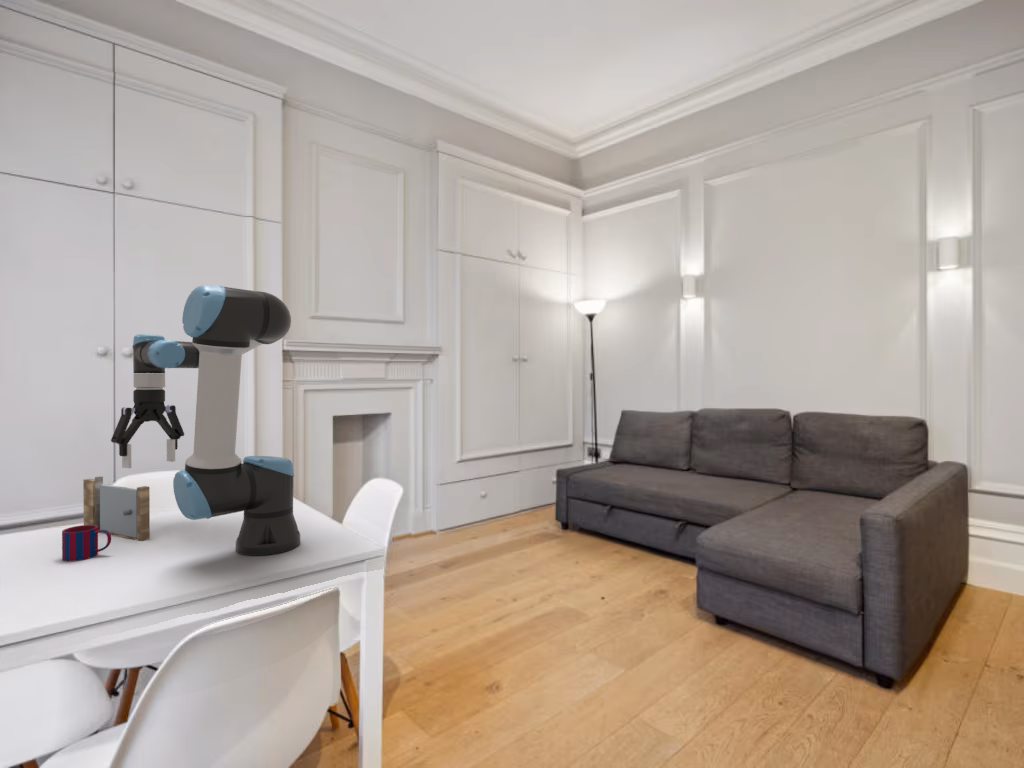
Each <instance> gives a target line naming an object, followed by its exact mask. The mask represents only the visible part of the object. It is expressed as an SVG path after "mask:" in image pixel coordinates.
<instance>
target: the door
mask: <svg viewBox="0 0 1024 768" xmlns="http://www.w3.org/2000/svg"><path fill="white" fill-rule="evenodd" d="M100 530H107V531H109V532H110V533H115V534H120V535H124V536H129V537H134V538H137V488H132V487H123V486H120V485H119V486H118V485H112V484H104V483H103V485H100Z"/></svg>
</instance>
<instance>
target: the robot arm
mask: <svg viewBox="0 0 1024 768" xmlns="http://www.w3.org/2000/svg"><path fill="white" fill-rule="evenodd" d="M183 306H184V307H183V311H182V318H181V319H182V325H183V326H182V327H183V331H184V333H185V334H186V335H187V336H189V337H190V338H192V341H182V340H180V341H179V340H178V341H177V340H176V341H175V340H171V339H165V336H163V335H160V334H150V333H149V334H148V333H146V334H143V333H142V334H136V335H134V336H133V339H132V340H133V341H132V350H133V351H132V355H133V357H132V359H133V364H132V365H133V388H135V389H134V390H133V394H132V395H133V398H132V399H133V400H132V401H133V403H134V404H133V407H121V409H120V410H121V411H120V418H119V419H118V423H117V425H116V428H114V429H115V430H114V431H113V434H112V436H111V438H110V442H111V443H113V444H117V445H118V446H119V447H118V448H119V449H118V455H119V457H121V460H122V461H121V465H122V466H121V468H124V469H132V444H131V443H129V442H130V441H131V439H132V438H133V437H134V435H135V434H136V432H137V431H138V429H139V428H140V427H141V426H142V424H144V423H145V422H157V423H158V425H159V426H160V427H161V429H162V430H163V431H164V433H165V434H166V435H167V436H168V439H166V462H170V463H171V462H176V450H178V447H179V445H178V440H180V439H181V437H184V436H185V431H184V430H183V426H182V425H181V422H180V420H179V418H178V415H177V411H176V410H177V408H176V406H175V405H172V404H171V405H169V404H168V405H165V402H166V390H165V389H164V388H165V387H166V369H198V370H197V371H198V373H197V385H196V386H197V389H196V404H195V405H196V406H195V407H196V408H195V422H194V439H193V440H194V441H193V453H192V454H191V455H190V456H189V457H188V458H186V459H185V462H184V463H185V464H184V469H180V470H178V471H177V472H176V473H175V474H174V477H173V483H172V484H173V485H172V486H173V494H174V498H175V501H176V502H175V503H176V504H177V507H178V509H179V511H180V512H181V514H182V515H183V516H184V517H185V518H186V519H189V520H192V521H194V520H195V521H196V520H203V519H207V520H209V519H211V518H214V517H215V518H216V517H220V516H225V515H230V514H234V513H240V512H243V519H242V522H241V526H240V529H239V533H238V536H237V538H236V540H235V552H237V553H238V554H240V555H244V556H245V555H246V556H267V555H274V554H280V553H284V552H287V551H290V550H293V549H296V548H297V547H298V546H300V544H301V532H300V531H299V528H298V525H297V521H296V518H295V516H294V477H295V474H294V464H293V462H292V460H290V459H289V458H286V457H282V456H281V457H280V456H271V455H270V456H269V455H246V456H244V458H243V460H242V458H241V457H239V456H238V455H237V454H236V443H237V429H238V428H237V427H238V413H239V399H240V386H241V385H240V384H241V372H242V371H241V370H242V369H241V368H242V358H243V355H244V354H246V353H248V352H250V351H252V350H253V349H255V348H258V347H259V346H262V345H271V344H274V343H276V342H278V341H280V340H281V339H283V338H284V337H285V336H286V335H287V333H289V330H290V328H291V325H292V324H291V323H292V317H291V313H290V310H289V308H288V306H287V305H286V304H285V303H284V302H283V301H282V300H281V298H279V297H277V296H276V295H274V294H272V293H269V292H265V291H260V290H259V291H257V290H250V289H249V290H248V289H242V288H237V287H236V288H235V287H228V286H222V285H211V284H209V285H208V284H204V285H203V284H202V285H198V286H197V287H195V288H193V290H192V291H190V294H189V295H188V297H187V298H186V301H185V304H184V305H183ZM164 413H165V414H166V416H165V415H164ZM132 415H135V416H134V417H133V418H132ZM167 418H168V420H167ZM131 419H132V420H131ZM130 421H131V423H130ZM168 421H169V422H168ZM129 423H130V424H129Z"/></svg>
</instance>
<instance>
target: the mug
mask: <svg viewBox="0 0 1024 768" xmlns="http://www.w3.org/2000/svg"><path fill="white" fill-rule="evenodd" d="M100 532H104V533H106V534H105V535H106V537H107V542H106V545H105V546H103V547H102V548H99V534H101V533H100ZM104 533H103V534H104ZM61 543H62V544H61V553H62V554H61V558H62V561H64V562H79V561H84V560H88V559H91V558H95V557H97V556H98V555H99V552H102V551H104V550H106V549H107V548H108V547H109V546H110V545H111V543H112V535H111V534H110V532H109V531H107V530H99V531H98V526H97V525H84V524H83V525H76V526H70V527H68V528H65V529H62V531H61Z"/></svg>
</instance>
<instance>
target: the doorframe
mask: <svg viewBox="0 0 1024 768" xmlns="http://www.w3.org/2000/svg"><path fill="white" fill-rule="evenodd" d="M82 481H83V485H82V486H83V487H82V489H83V491H82V492H83V495H82V496H83V525H97V526H98V531H99V530H100V485H104V476H95V477H94V478H89V477H88V478H84V479H82ZM136 489H137V538H134V537H129V536H124V535H120V534H115V533H110V534H111V536H115V537H120V538H124V539H129V540H133V541H134V540H137V541H141V542H143V541H146V540H150V539H151V538H150V534H151V533H150V531H151V529H150V518H151V517H150V513H151V512H150V511H151V510H150V507H151V506H150V504H151V502H150V499H151V498H150V496H151V495H150V486H147V485H143V486H138V487H136ZM99 534H105V535H106V533H104V532H100V533H99Z"/></svg>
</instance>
